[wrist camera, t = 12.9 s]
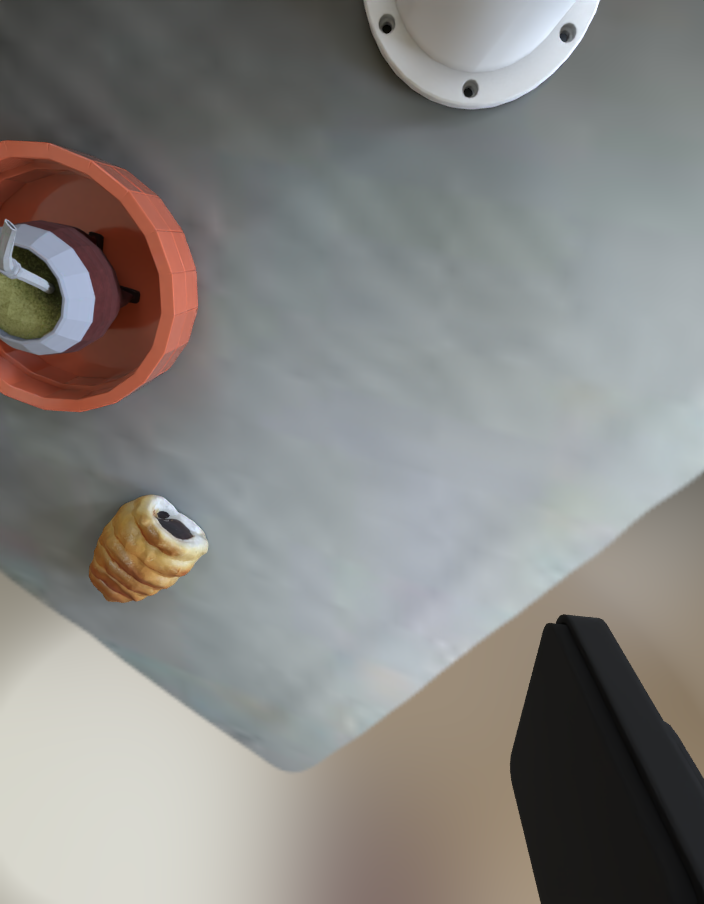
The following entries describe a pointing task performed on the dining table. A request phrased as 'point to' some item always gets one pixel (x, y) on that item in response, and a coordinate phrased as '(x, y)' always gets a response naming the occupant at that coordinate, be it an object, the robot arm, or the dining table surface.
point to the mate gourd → (56, 288)
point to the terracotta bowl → (133, 258)
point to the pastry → (145, 550)
